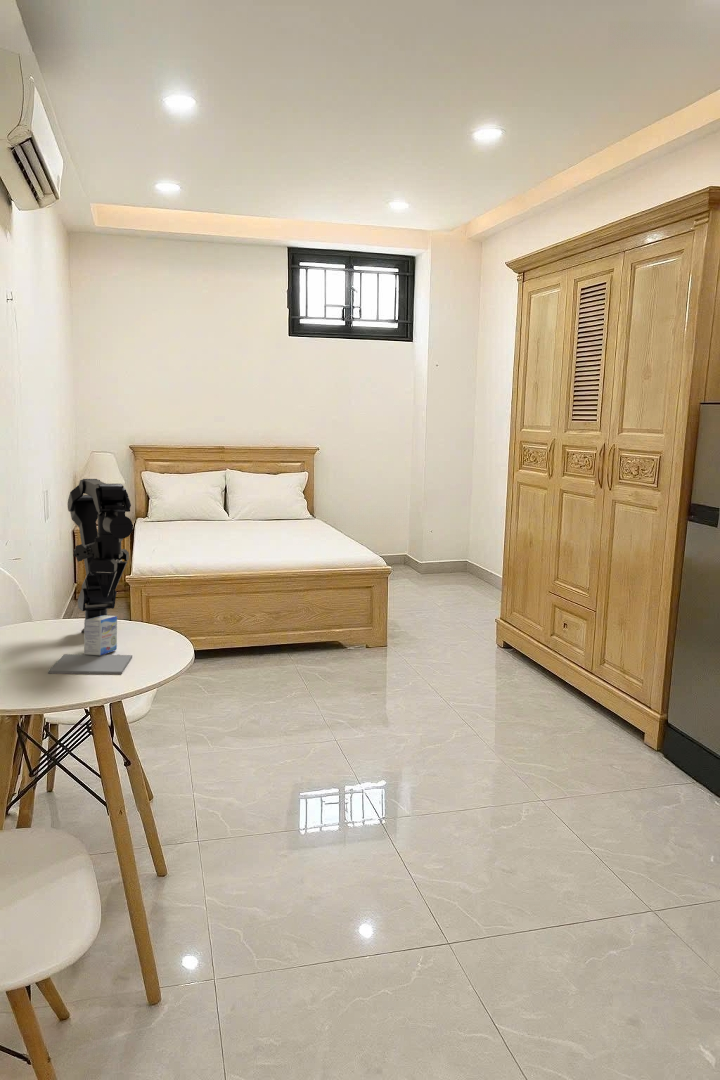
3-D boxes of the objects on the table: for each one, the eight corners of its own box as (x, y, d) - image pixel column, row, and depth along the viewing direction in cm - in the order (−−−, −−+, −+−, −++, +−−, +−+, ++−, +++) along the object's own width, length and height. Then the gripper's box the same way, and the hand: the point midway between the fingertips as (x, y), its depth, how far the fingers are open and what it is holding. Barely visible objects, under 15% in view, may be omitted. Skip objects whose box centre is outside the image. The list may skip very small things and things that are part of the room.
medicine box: (100, 656, 187) (100, 620, 187) (83, 654, 188) (83, 619, 188) (117, 650, 195) (117, 615, 194) (100, 649, 196) (101, 614, 195)
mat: (64, 656, 188) (64, 654, 188) (132, 657, 190) (132, 655, 190) (48, 673, 175) (48, 670, 175) (121, 674, 177) (121, 671, 177)
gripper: (86, 526, 207) (86, 584, 209) (66, 537, 188) (66, 600, 191) (129, 528, 208) (129, 586, 210) (113, 538, 189) (113, 601, 192)
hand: (109, 593), depth 201 cm, fingers open, 9 cm apart
